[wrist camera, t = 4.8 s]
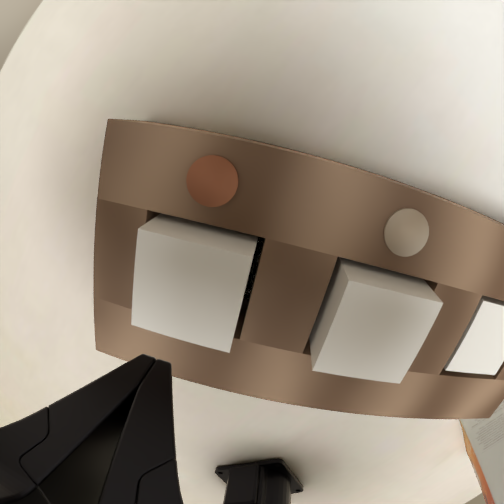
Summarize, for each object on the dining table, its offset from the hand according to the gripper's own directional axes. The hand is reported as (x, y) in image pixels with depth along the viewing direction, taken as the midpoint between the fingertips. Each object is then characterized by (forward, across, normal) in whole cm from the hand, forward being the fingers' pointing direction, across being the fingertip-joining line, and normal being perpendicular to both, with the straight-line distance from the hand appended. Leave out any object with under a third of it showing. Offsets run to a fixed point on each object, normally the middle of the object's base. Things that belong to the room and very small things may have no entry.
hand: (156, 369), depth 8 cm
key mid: (+7, -8, 0) cm, 11 cm away
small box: (+10, -27, +10) cm, 31 cm away
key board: (+10, -8, 0) cm, 12 cm away
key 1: (+9, -16, 0) cm, 18 cm away
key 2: (+7, 0, 0) cm, 7 cm away
